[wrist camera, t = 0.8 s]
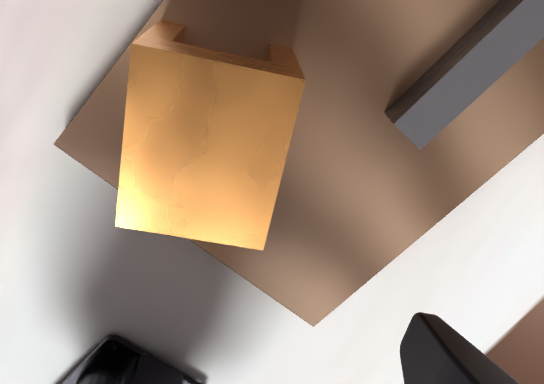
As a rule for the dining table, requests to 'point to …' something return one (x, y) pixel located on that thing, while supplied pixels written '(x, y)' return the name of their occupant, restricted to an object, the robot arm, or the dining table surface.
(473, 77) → the grey flat rectangular block
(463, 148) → the walnut board
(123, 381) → the robot arm
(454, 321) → the dining table surface
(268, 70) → the block
